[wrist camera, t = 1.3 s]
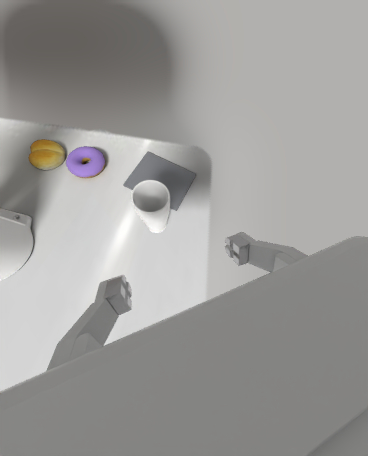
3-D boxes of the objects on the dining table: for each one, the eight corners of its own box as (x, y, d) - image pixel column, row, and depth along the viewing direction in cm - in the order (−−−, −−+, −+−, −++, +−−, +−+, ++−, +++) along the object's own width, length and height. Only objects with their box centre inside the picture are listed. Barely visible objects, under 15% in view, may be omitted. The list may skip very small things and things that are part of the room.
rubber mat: (123, 185, 41) (123, 184, 40) (148, 152, 45) (147, 151, 45) (176, 211, 40) (176, 210, 40) (195, 175, 45) (196, 173, 44)
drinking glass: (141, 216, 39) (125, 184, 24) (165, 209, 40) (163, 175, 26) (148, 239, 37) (136, 219, 23) (173, 231, 38) (175, 207, 24)
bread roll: (32, 172, 39) (18, 161, 36) (38, 147, 42) (25, 134, 38) (65, 171, 40) (54, 160, 37) (68, 146, 43) (58, 134, 39)
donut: (92, 186, 39) (78, 173, 35) (70, 175, 42) (55, 162, 37) (114, 162, 43) (105, 147, 38) (92, 153, 45) (81, 138, 40)
